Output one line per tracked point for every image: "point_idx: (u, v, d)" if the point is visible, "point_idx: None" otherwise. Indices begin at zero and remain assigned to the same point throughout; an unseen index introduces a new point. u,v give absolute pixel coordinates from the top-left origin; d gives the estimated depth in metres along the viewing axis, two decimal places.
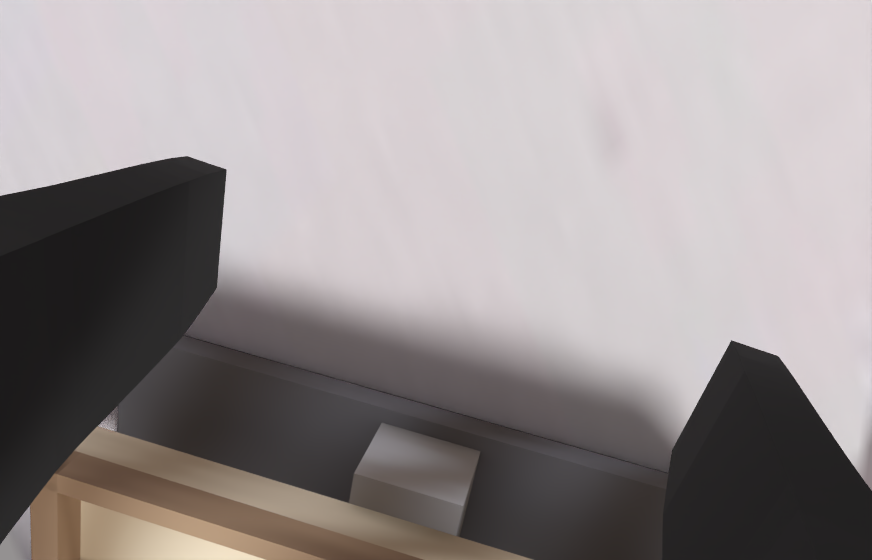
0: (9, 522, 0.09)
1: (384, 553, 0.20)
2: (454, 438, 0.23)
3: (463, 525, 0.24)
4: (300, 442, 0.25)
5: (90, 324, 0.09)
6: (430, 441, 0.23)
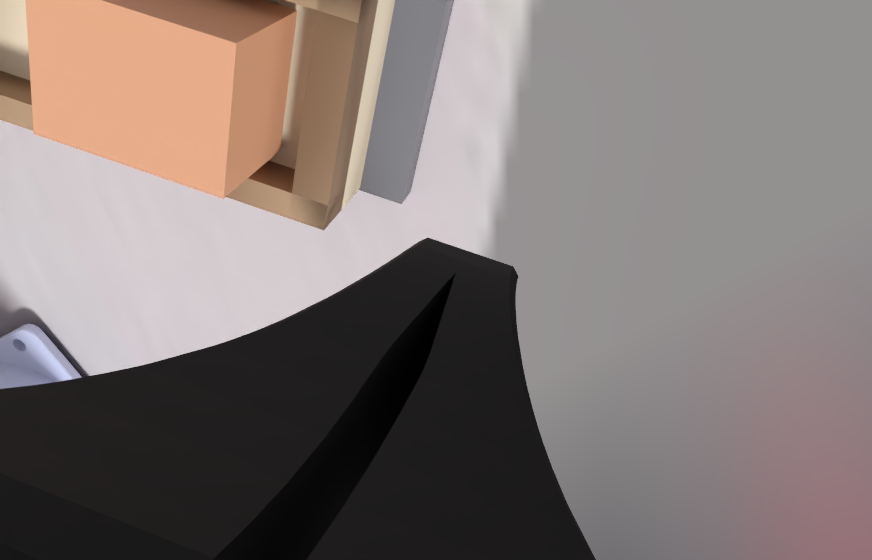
0: None
1: None
2: None
3: None
4: None
5: (378, 430, 0.09)
6: None
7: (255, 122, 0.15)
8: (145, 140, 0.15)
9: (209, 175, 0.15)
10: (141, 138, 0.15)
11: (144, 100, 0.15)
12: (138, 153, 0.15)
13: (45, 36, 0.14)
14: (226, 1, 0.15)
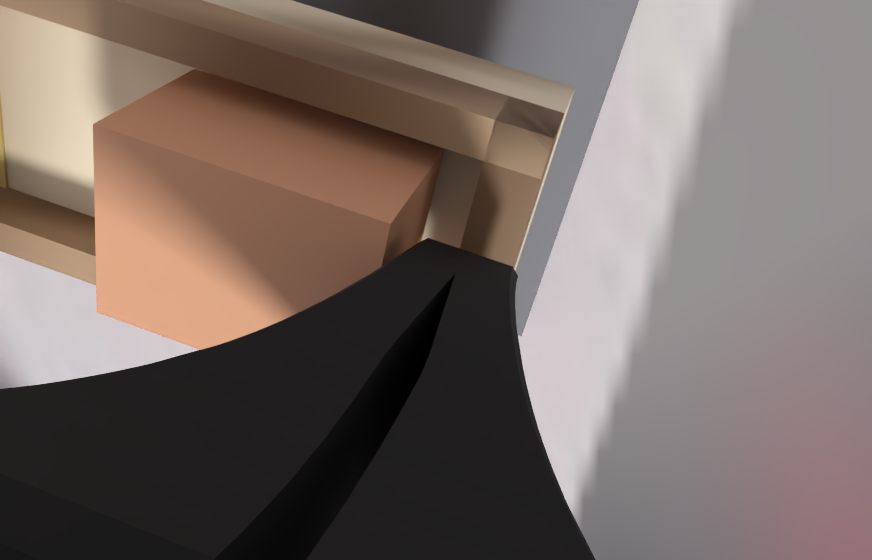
0: None
1: None
2: None
3: None
4: None
5: (379, 430, 0.09)
6: None
7: None
8: (249, 330, 0.11)
9: None
10: (242, 328, 0.11)
11: (252, 283, 0.11)
12: None
13: (118, 200, 0.11)
14: (355, 142, 0.11)
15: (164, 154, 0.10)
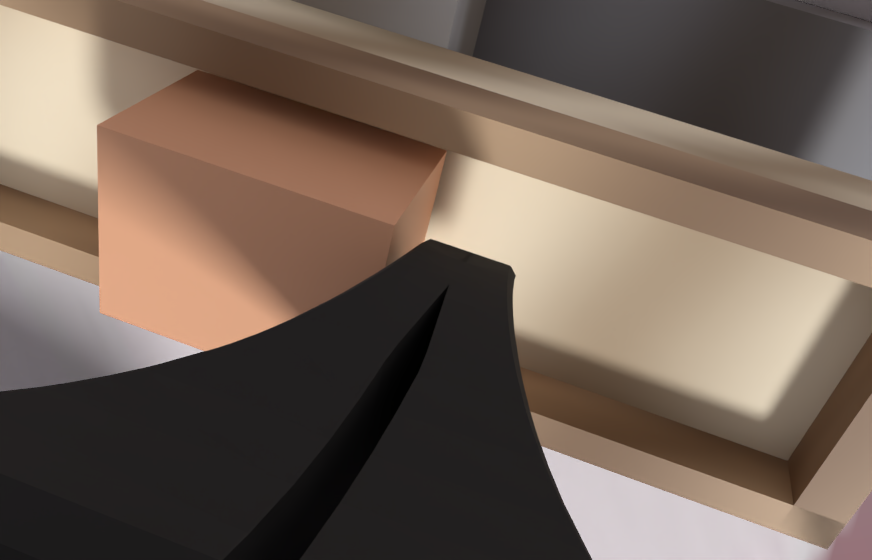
0: None
1: (317, 42, 0.12)
2: None
3: None
4: None
5: (382, 431, 0.09)
6: None
7: None
8: (252, 331, 0.11)
9: None
10: (246, 329, 0.11)
11: (255, 283, 0.11)
12: None
13: (122, 201, 0.11)
14: (358, 143, 0.11)
15: (168, 155, 0.10)
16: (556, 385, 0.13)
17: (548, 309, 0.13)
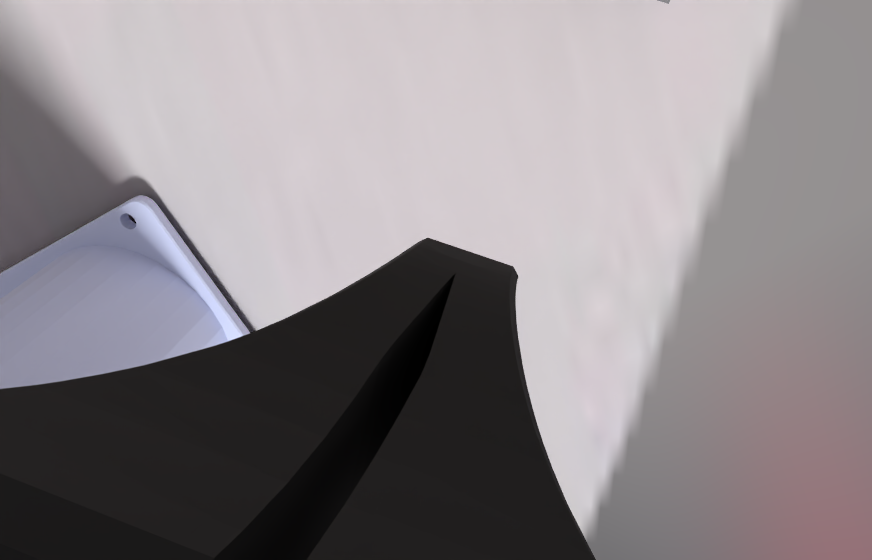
0: None
1: None
2: None
3: None
4: None
5: (378, 430, 0.09)
6: None
7: None
8: None
9: None
10: None
11: None
12: None
13: None
14: None
15: None
16: None
17: None
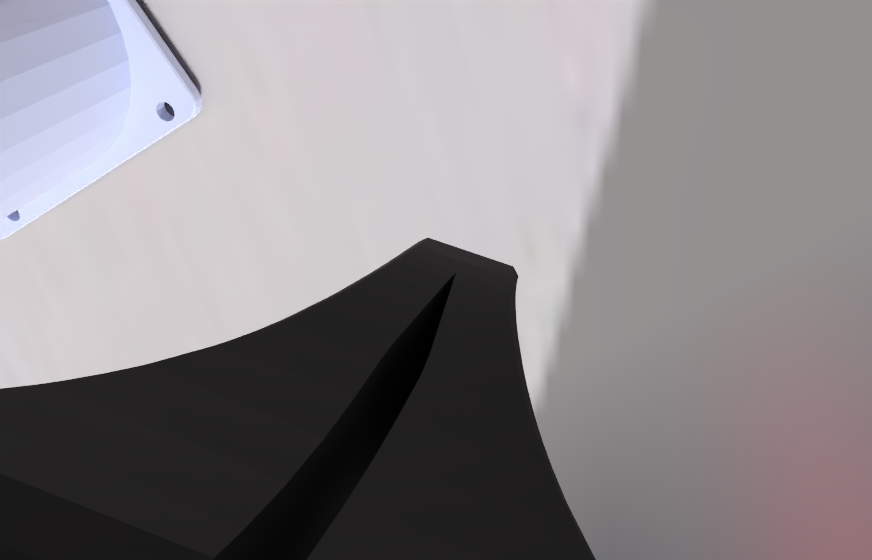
0: None
1: None
2: None
3: None
4: None
5: (378, 430, 0.09)
6: None
7: None
8: None
9: None
10: None
11: None
12: None
13: None
14: None
15: None
16: None
17: None
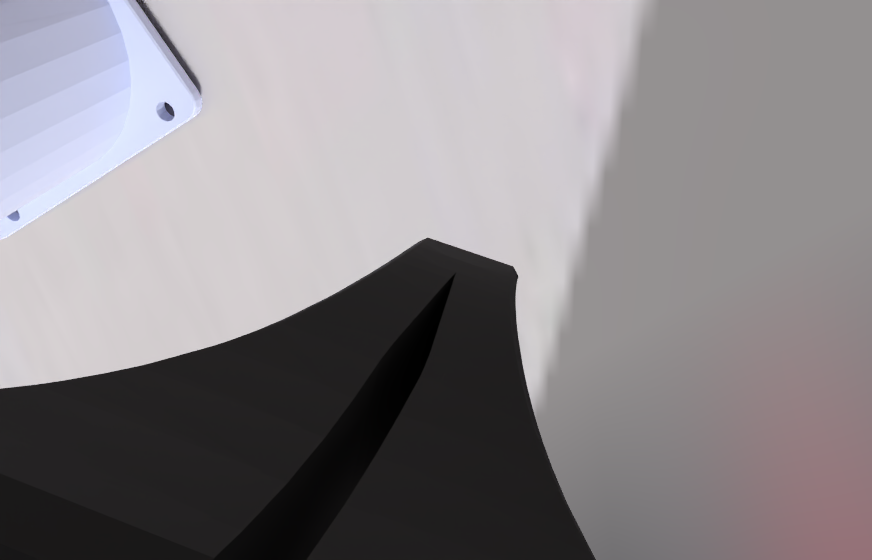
0: None
1: None
2: None
3: None
4: None
5: (378, 430, 0.09)
6: None
7: None
8: None
9: None
10: None
11: None
12: None
13: None
14: None
15: None
16: None
17: None
